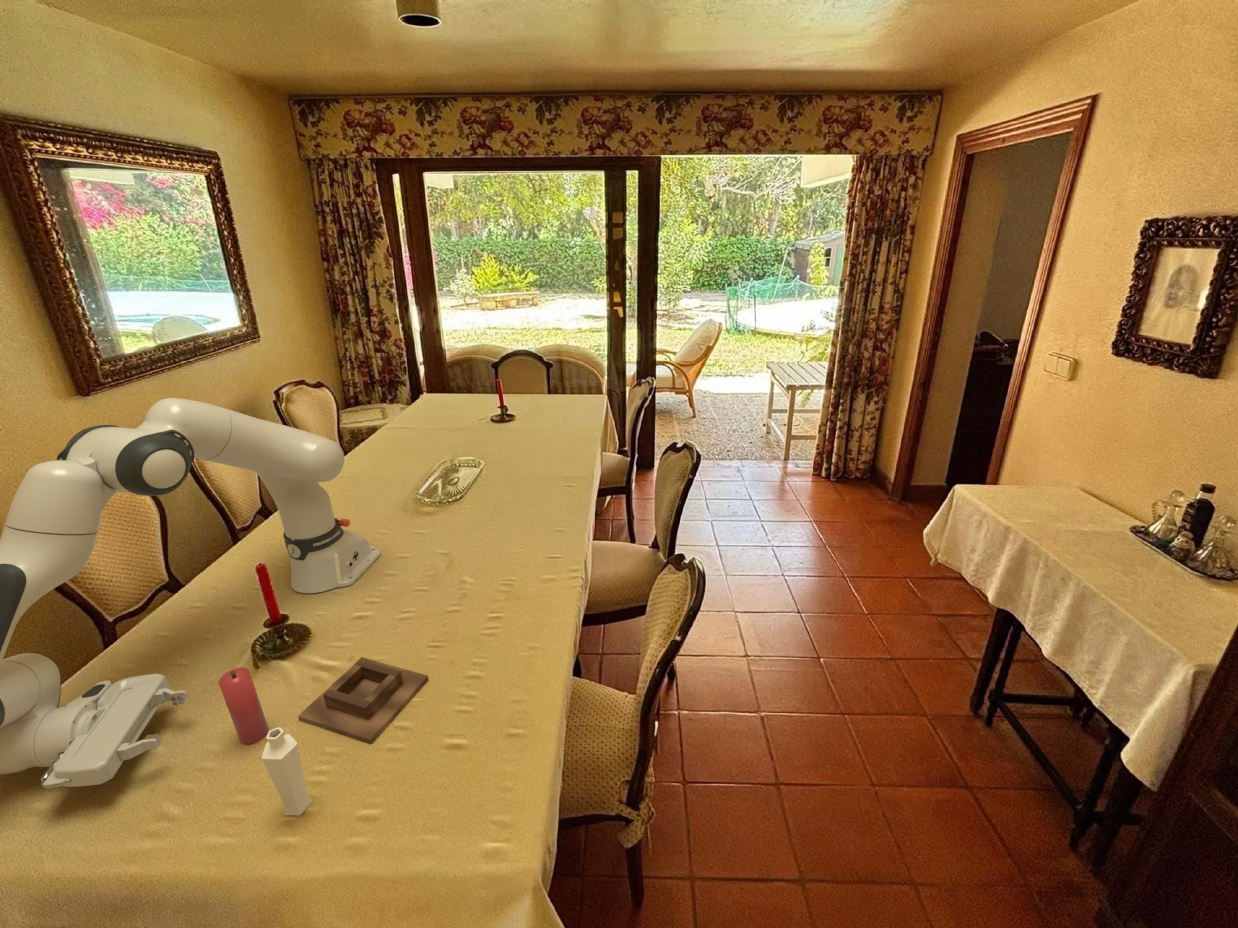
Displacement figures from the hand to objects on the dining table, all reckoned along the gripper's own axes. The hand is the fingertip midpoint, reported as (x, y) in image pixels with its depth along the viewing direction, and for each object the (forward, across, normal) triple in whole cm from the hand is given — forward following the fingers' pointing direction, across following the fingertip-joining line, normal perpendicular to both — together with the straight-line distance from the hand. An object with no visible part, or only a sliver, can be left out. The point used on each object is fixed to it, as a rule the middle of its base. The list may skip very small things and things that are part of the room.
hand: (172, 717), depth 97 cm
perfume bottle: (+22, -16, +7) cm, 28 cm away
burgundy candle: (+11, 0, +6) cm, 13 cm away
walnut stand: (+29, +4, +6) cm, 30 cm away
